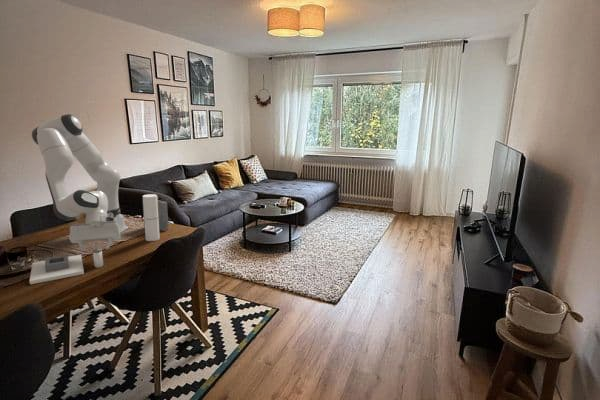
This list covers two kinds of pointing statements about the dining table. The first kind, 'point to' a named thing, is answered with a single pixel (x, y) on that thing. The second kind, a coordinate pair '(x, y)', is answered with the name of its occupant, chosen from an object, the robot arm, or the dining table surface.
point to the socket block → (56, 268)
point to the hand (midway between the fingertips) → (95, 249)
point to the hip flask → (162, 215)
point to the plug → (98, 257)
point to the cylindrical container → (151, 217)
